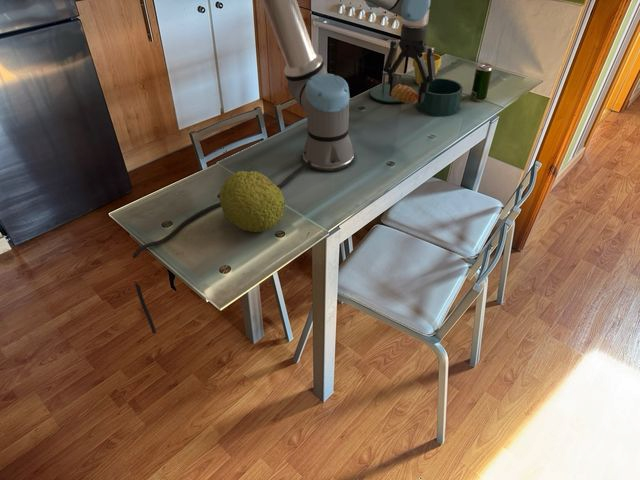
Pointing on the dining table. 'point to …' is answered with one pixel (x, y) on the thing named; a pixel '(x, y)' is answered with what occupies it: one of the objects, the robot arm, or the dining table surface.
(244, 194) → the fruit
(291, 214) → the dining table surface
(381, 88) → the lid
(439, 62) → the flower pot
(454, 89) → the pot
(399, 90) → the pastry
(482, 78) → the beer can
